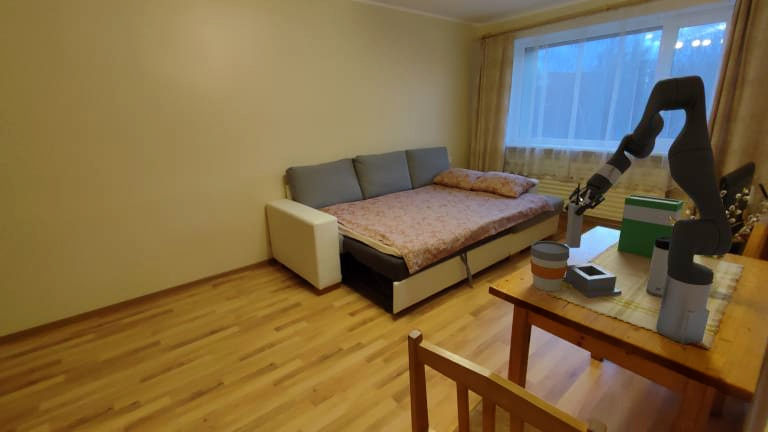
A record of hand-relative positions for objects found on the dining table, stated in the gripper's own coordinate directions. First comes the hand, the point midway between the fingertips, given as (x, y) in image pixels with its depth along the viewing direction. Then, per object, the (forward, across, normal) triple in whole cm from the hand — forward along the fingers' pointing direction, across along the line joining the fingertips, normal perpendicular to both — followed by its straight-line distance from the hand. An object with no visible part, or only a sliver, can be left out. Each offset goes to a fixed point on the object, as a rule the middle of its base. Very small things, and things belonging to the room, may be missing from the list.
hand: (571, 212), depth 133 cm
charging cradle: (+17, +14, +16) cm, 27 cm away
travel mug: (+4, +24, +29) cm, 38 cm away
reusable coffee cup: (+27, +10, +6) cm, 30 cm away
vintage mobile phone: (+9, 0, +11) cm, 14 cm away
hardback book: (-12, -6, +45) cm, 47 cm away
